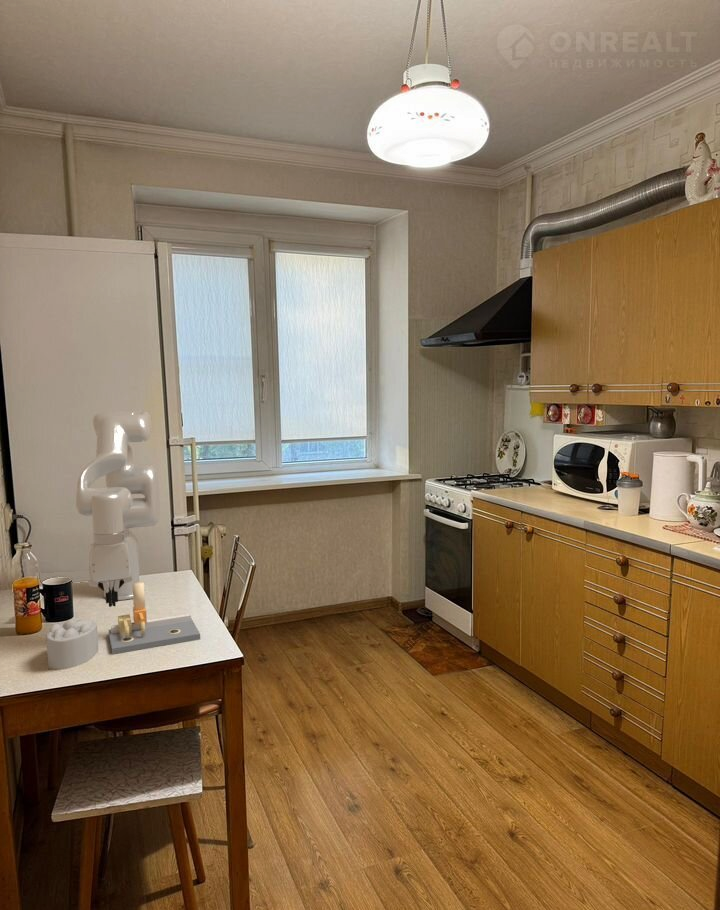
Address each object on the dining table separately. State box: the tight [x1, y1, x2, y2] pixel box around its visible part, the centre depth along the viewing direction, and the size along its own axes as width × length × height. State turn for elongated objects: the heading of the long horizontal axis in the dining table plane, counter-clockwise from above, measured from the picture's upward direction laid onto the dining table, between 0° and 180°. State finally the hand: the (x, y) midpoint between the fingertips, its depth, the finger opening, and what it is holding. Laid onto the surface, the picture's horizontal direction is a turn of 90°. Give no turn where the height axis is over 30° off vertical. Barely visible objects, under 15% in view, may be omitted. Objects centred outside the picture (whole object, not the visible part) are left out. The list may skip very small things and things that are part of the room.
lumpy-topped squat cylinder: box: [46, 619, 99, 671], centre depth 157 cm, size 10×13×9 cm
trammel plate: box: [108, 613, 201, 655], centre depth 170 cm, size 14×22×5 cm, turn 115°
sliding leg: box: [132, 581, 148, 636], centre depth 170 cm, size 10×3×12 cm, turn 25°
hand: (112, 605), depth 169 cm, fingers closed
